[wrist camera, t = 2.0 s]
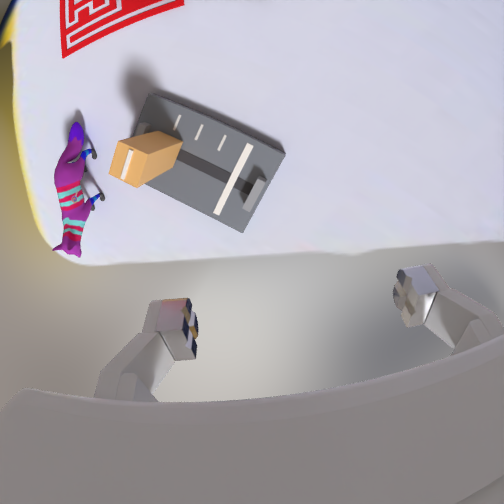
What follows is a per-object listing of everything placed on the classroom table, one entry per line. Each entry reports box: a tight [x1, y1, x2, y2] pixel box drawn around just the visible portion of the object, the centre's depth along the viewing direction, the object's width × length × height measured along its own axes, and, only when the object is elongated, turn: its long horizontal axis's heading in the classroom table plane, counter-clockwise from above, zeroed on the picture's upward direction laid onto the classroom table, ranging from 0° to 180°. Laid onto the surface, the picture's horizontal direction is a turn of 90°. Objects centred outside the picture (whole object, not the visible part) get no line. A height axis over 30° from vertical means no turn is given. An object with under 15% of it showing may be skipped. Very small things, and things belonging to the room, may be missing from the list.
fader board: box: [133, 94, 286, 233], centre depth 34 cm, size 18×11×3 cm, turn 64°
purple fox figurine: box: [53, 122, 105, 257], centre depth 33 cm, size 4×18×10 cm, turn 4°
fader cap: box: [109, 131, 183, 188], centre depth 29 cm, size 4×4×9 cm
